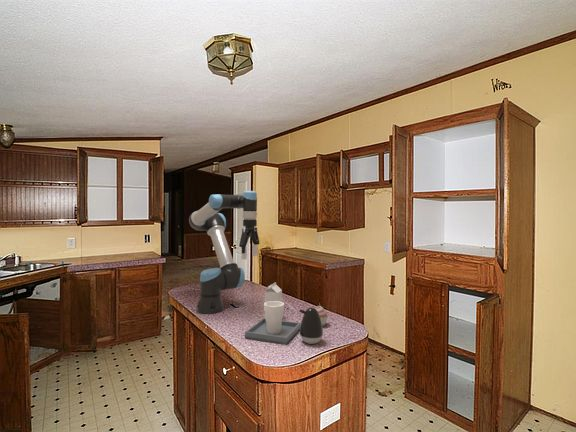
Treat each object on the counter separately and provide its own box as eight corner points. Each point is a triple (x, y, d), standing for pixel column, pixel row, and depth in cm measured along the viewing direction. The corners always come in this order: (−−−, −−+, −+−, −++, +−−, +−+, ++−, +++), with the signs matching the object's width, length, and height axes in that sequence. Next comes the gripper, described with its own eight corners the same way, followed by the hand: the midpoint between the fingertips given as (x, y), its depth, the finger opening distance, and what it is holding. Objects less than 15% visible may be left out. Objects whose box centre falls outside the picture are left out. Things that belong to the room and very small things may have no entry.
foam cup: (281, 335, 150) (281, 307, 149) (261, 334, 151) (261, 306, 151) (285, 328, 159) (285, 301, 159) (267, 327, 161) (267, 300, 160)
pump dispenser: (298, 337, 150) (298, 304, 150) (320, 337, 151) (320, 304, 151) (300, 346, 140) (301, 311, 140) (324, 346, 141) (325, 310, 141)
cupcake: (305, 324, 168) (306, 304, 168) (319, 320, 174) (319, 301, 173) (318, 329, 161) (318, 309, 160) (332, 325, 166) (332, 305, 166)
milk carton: (281, 317, 178) (282, 282, 177) (277, 322, 171) (277, 285, 171) (269, 316, 180) (269, 281, 180) (264, 320, 173) (264, 284, 173)
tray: (244, 338, 149) (245, 331, 149) (262, 324, 168) (262, 318, 168) (286, 344, 142) (286, 337, 142) (300, 329, 161) (300, 323, 161)
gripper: (245, 219, 168) (245, 261, 169) (265, 218, 192) (265, 255, 192) (232, 219, 171) (232, 260, 171) (253, 218, 194) (253, 254, 195)
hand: (249, 257), depth 182 cm, fingers open, 13 cm apart
